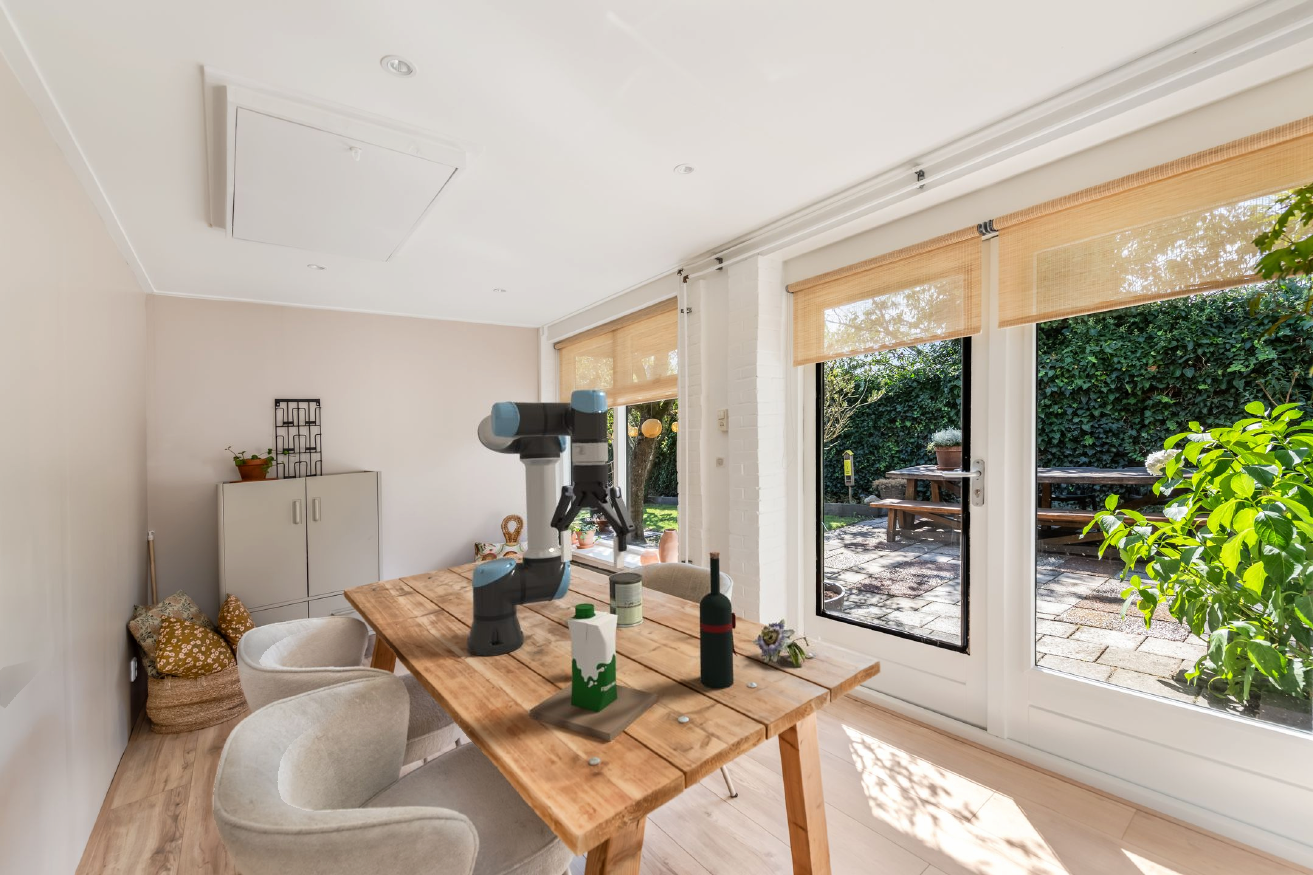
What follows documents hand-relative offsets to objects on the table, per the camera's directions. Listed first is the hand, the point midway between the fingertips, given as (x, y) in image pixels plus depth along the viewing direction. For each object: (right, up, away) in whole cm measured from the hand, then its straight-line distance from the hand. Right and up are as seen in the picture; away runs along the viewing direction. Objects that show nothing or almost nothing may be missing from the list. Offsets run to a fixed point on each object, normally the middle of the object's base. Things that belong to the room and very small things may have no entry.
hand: (592, 564), depth 119 cm
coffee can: (+4, -31, +55) cm, 63 cm away
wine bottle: (+29, -30, +13) cm, 44 cm away
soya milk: (+1, -29, 0) cm, 29 cm away
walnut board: (+1, -31, 0) cm, 31 cm away
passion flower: (+45, -30, +24) cm, 59 cm away
